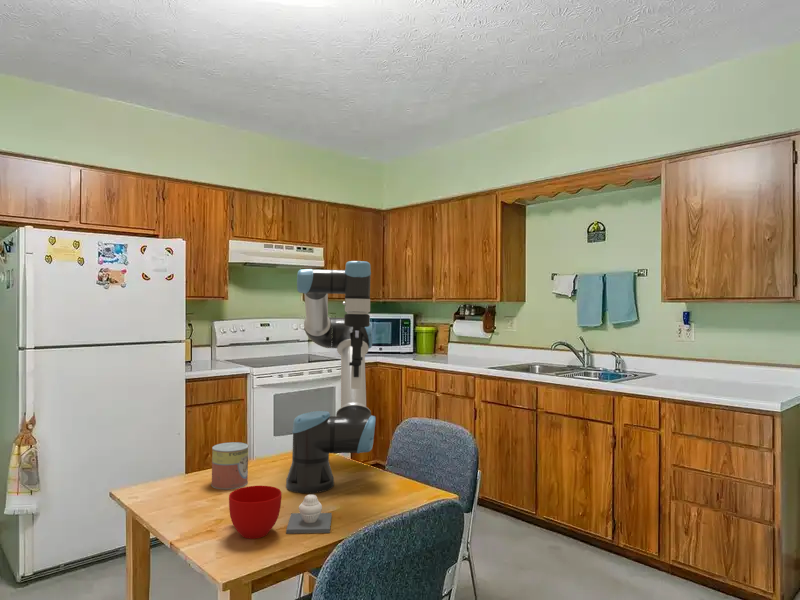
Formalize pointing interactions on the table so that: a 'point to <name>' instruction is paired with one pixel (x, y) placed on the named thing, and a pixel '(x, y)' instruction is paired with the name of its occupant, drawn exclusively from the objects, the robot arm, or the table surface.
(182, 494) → the table surface
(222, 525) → the table surface
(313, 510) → the white fluted round figurine
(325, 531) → the coaster
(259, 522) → the ceramic cup
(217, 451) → the canned food
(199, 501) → the table surface
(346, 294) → the robot arm
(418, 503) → the table surface
